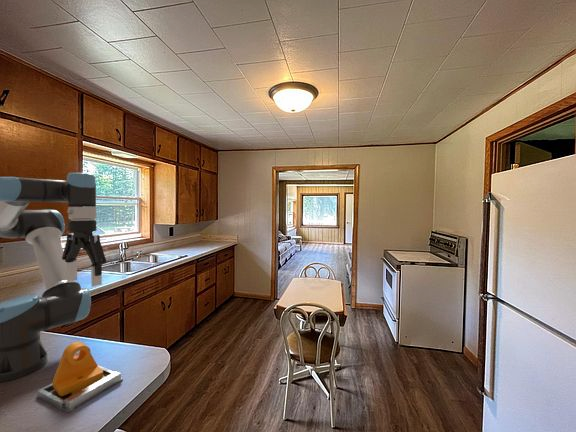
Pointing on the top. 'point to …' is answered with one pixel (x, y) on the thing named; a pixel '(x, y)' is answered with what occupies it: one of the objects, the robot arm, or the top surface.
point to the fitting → (79, 398)
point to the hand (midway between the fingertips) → (84, 283)
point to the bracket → (76, 370)
